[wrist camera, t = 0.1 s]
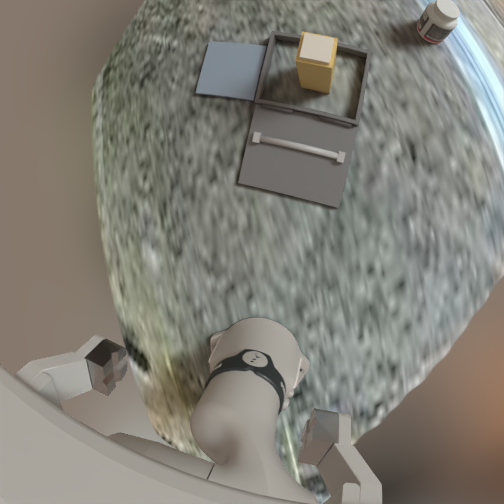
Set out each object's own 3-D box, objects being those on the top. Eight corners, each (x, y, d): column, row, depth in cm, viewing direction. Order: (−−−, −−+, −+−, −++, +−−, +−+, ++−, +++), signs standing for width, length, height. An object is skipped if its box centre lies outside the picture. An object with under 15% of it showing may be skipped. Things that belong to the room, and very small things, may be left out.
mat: (254, 101, 45) (253, 100, 44) (197, 93, 46) (195, 92, 46) (267, 47, 42) (266, 46, 41) (210, 43, 44) (209, 41, 43)
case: (338, 207, 46) (339, 208, 44) (239, 182, 49) (236, 183, 47) (369, 55, 39) (371, 51, 37) (273, 36, 41) (271, 31, 40)
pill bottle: (448, 37, 34) (469, 15, 25) (432, 49, 36) (451, 26, 27) (427, 15, 34) (444, -11, 25) (409, 26, 36) (425, 0, 27)
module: (329, 93, 42) (332, 66, 30) (301, 87, 43) (295, 59, 31) (334, 69, 41) (338, 36, 29) (306, 63, 42) (301, 29, 30)
